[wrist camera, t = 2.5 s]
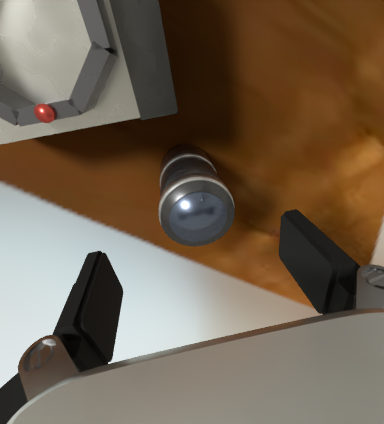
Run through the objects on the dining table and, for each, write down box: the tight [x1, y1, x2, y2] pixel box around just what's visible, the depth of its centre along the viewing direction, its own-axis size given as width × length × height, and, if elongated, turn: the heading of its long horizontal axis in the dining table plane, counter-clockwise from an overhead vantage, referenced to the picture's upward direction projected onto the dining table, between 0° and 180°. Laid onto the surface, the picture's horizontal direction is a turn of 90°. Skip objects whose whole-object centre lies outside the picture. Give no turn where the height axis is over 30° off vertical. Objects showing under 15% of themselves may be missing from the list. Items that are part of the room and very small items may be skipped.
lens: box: [159, 144, 235, 246], centre depth 16 cm, size 5×5×8 cm
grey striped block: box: [0, 0, 178, 144], centre depth 11 cm, size 12×9×7 cm
